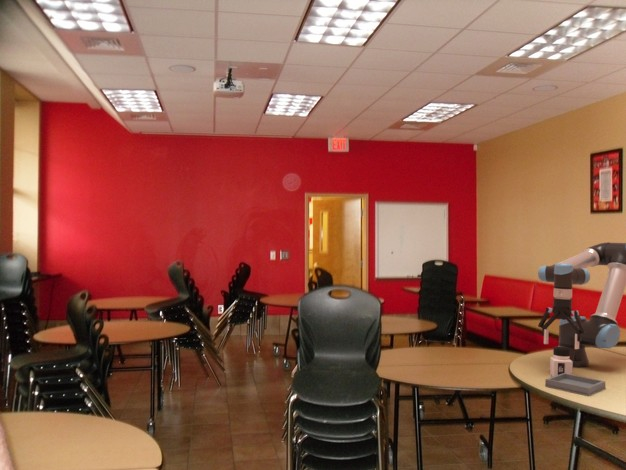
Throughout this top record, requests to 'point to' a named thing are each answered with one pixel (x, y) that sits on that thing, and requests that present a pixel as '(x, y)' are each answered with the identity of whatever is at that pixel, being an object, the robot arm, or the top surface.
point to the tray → (575, 384)
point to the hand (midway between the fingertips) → (561, 346)
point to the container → (561, 361)
